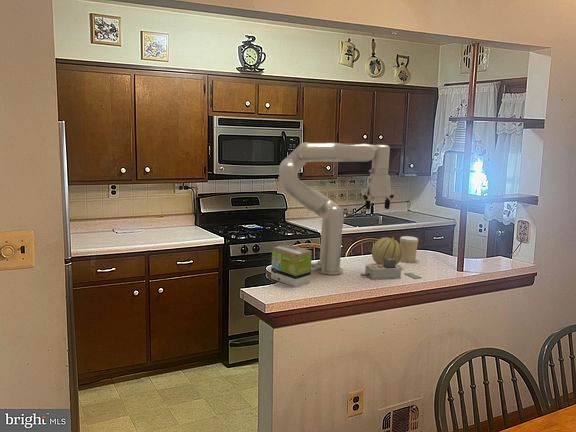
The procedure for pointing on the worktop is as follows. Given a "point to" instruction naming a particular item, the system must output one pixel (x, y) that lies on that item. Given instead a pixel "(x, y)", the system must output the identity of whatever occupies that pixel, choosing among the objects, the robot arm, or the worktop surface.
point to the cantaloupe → (386, 250)
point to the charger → (389, 263)
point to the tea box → (291, 265)
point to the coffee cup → (408, 248)
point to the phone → (412, 275)
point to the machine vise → (381, 272)
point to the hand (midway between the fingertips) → (377, 208)
